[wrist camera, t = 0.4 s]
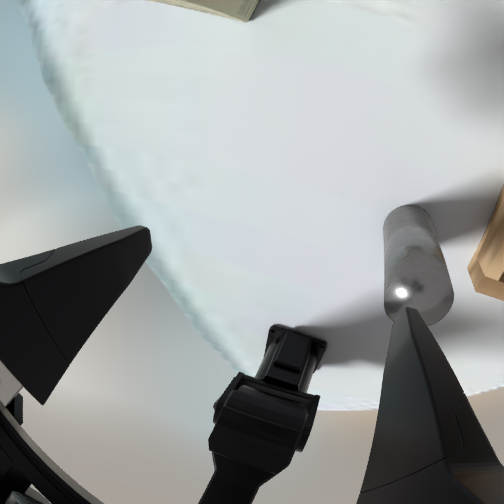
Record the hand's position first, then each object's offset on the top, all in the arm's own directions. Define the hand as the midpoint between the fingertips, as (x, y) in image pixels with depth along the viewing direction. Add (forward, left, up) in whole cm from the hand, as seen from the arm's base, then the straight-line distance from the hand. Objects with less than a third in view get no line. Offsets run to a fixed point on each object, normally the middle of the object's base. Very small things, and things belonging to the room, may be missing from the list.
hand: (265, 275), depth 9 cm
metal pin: (-3, -7, -13) cm, 15 cm away
